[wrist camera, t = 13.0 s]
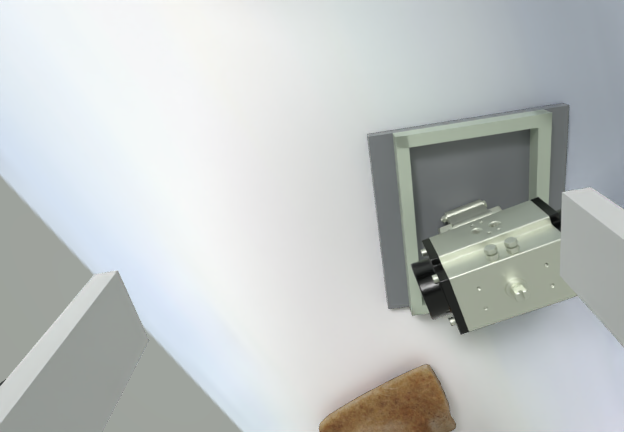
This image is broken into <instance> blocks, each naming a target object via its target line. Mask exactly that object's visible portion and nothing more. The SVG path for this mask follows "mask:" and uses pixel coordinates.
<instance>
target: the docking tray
mask: <svg viewBox="0 0 624 432" xmlns="http://www.w3.org/2000/svg"><path fill="white" fill-rule="evenodd" d="M568 121H569V105H567V104H564V103H561V104H554V105H548V106H542V107H535V108H529V109H523V110H517V111H510V112H504V113H498V114H491V115H485V116H479V117H472V118H466V119H460V120H453V121H447V122H441V123H435V124H428V125H422V126H416V127H409V128H403V129H397V130H390V131H384V132H378V133H371V134H367V138H368V146H369V155H370V163H371V171H372V180H373V188H374V197H375V205H376V213H377V222H378V230H379V238H380V247H381V255H382V264H383V272H384V280H385V289H386V297H387V304H388V308H389V309H392V308H400V307H408V306H409V307H410V310H411V313H412V316H413V315H421V314H429V311H428V308H427V306H426V303H425V301H424V299H423V296H422V294H421V291H420V289H419V286H418V283H417V281H416V278H415V276H414V273H413V271H412V268H411V264H412V263H415V262H417V261H420V260H423V259H426V258H428V257H427V256H424V257H423V255H422V253H421V250H422V249H424V246H423V244H422V240H425V239H427V238H430V237H433V236H435V235H438V234H439V231H438V229H439V228H441V227H444V226H446V225H449V224H448V222H441V217H442V216H444V215H445V212H448V211H450V210H453V209H456V208H458V207H461V206H463V205H466V204H469V203H471V202H474V201H476V200H479V199H480V200H482V201H483V200H485V202H486V204H487V207H486V208H487V209H491V208H494V207H496V206H499V207H500V208H501V209H502V210H505V209H507V208H510V207H513V206H515V205H518V204H521V203H523V202H526V201H529V200H531V199H534V198H537V197H539V198H540V199H542V200H543V201H544V202H545V203H547V204H548V205H549V206H550V207H552V208H553V209H554V210H555V211H556V210H559V209H561V208H562V192H565V177H566V158H567V140H568Z"/></svg>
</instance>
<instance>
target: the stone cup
mask: <svg viewBox="0 0 624 432" xmlns="http://www.w3.org/2000/svg"><path fill="white" fill-rule="evenodd" d="M455 428H456V423H455V421H454V419H453V418H452V417H451V415H450V411H449V404H448V401H447V399H446V396H445V393H444V391H443V389H442V387H441V383H440V381H439V380H438V378H437V376H436V375H435V373H434V371H433V370H432V369H431V367H430V365H428V364H426V365H422V366H420V367H418V368H415V369H413V370H411V371H408V372H406V373H404V374H402V375H400V376H398V377H396V378H394V379H392V380H390V381H388V382H386V383H384V384H382V385H380V386H378V387H377V388H375V389H373V390H371V391H369V392H367V393H365V394H363V395H361V396H360V397H358V398H356V399H354V400H353V401H351V402H349V403H347V404H346V405H344V406H343V407H341V408H339V409H338V410H336V411H334V412H333V413H331V414H330V415H328V416H327V417H326V418H325V419H324V420H323V421H322V422H321V423H320V426H319V432H450V431H452V430H454V429H455Z"/></svg>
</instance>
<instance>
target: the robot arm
mask: <svg viewBox="0 0 624 432" xmlns="http://www.w3.org/2000/svg"><path fill="white" fill-rule="evenodd" d="M560 276H561V277H562V279H563V280H564V281H565V282H566V283H567V284H568V285H569V286H570V288H571V289H572V290H573V291H574V292H575V293H576V294H577V295H578V296H579V298H580V299H581V300H582V301H583V302H584V303H585V304H586V305H587V307H588V308H589V309H590V310H591V311H592V312H593V313H594V314H595V316H596V317H597V318H598V319H599V320H600V321H601V322H602V323H603V325H604V326H605V327H606V328H607V329H608V330H609V331H610V332H611V334H612V335H613V336H614V337H615V338H616V339H617V340H618V341H619V343H620V344H621V345H622V346H623V347H624V209H623V208H621V207H620V206H618V205H617V204H615V203H614V202H612V201H611V200H609V199H608V198H606V197H605V196H603V195H602V194H600V193H599V192H597V191H596V190H594V189H593V188H591V187H588V188H582V189H577V190H571V191H565V192H562V208H561V246H560ZM148 342H149V339H148V336H147V334H146V332H145V330H144V328H143V325H142V323H141V321H140V319H139V316H138V314H137V312H136V310H135V308H134V305H133V303H132V301H131V299H130V296H129V294H128V292H127V290H126V288H125V285H124V283H123V281H122V279H121V276H120V274H119V272H118V270H117V271H111V272H105V273H100V274H94V275H93V277H92V278H91V279H90V280H89V282H88V283H87V284H86V285H85V286H84V287H83V289H82V290H81V291H80V292H79V293H78V295H77V296H76V297H75V298H74V299H73V300H72V302H71V303H70V304H69V305H68V307H67V308H66V309H65V310H64V311H63V312H62V314H61V315H60V316H59V317H58V319H57V320H56V321H55V322H54V323H53V324H52V325H51V327H50V328H49V329H48V330H47V331H46V333H45V334H44V335H43V336H42V337H41V339H40V340H39V341H38V342H37V344H35V346H34V347H33V348H32V349H31V351H30V352H29V353H28V354H27V355H26V356H25V358H24V359H23V360H22V361H21V363H20V364H19V365H18V366H17V367H16V369H14V371H13V372H12V373H11V374H10V376H9V377H8V378H7V379H5V380H4V381H3V382H1V383H0V432H103V430H104V428H105V426H106V424H107V422H108V420H109V418H110V416H111V414H112V412H113V410H114V408H115V406H116V404H117V403H118V401H119V399H120V397H121V395H122V393H123V391H124V389H125V387H126V385H127V383H128V381H129V379H130V377H131V375H132V373H133V371H134V369H135V367H136V365H137V363H138V361H139V359H140V357H141V355H142V354H143V352H144V350H145V348H146V346H147V343H148Z"/></svg>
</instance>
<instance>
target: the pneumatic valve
mask: <svg viewBox="0 0 624 432" xmlns="http://www.w3.org/2000/svg"><path fill="white" fill-rule="evenodd" d="M486 207H487V204H486V202H485V200H483V201H482V200H480V199H479V200H476V201H474V202H471V203H469V204H466V205H463V206H461V207H458V208H456V209H453V210H450V211H448V212H445V215H444V216H442V217H441V222H448V224H449V225H446V226H444V227H441V228H439V229H438V231H439V234H438V235H435V236H433V237H430V238H427V239H425V240H422V244H423V246H424V249H422V250H421V253H422V255H423V257H424V256H427V257H428V258H426V259H423V260H420V261H417V262H415V263H412V264H411V268H412V271H413V273H414V276H415V278H416V281H417V283H418V286H419V289H420V291H421V294H422V296H423V299H424V301H425V303H426V306H427V308H428V311H429V313H430V315H431V318H432V319H433V320H434V319H437V318H440V317H443V316H446V315H448V314H452V316H453V317H451V318H449V321H450V323H451V325H452V326H453V325H457V327H458V330H459V332H460V334H464V333H467V332H470V331H473V330H476V329H479V328H482V327H485V326H488V325H491V324H494V323H497V322H500V321H503V320H506V319H509V318H512V317H515V316H518V315H521V314H524V313H527V312H530V311H533V310H536V309H539V308H542V307H545V306H548V305H551V304H554V303H557V302H560V301H563V300H566V299H569V298H572V297H575V296H578V295H577V294H576V293H575V292H574V291H573V290H572V289H571V288H570V286H569V285H568V284H567V283H566V282H565V281H564V280H563V279H562V277H561V276H560V246H561V209H559V210H556V211H555V210H554V209H553V208H552V207H550V206H549V205H548V204H547V203H545V202H544V201H543V200H542V199H540V198H539V197H537V198H534V199H531V200H529V201H526V202H523V203H521V204H518V205H515V206H513V207H510V208H507V209H505V210H502V209H501V208H500V207H499V206H496V207H494V208H491V209H487V208H486Z"/></svg>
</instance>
